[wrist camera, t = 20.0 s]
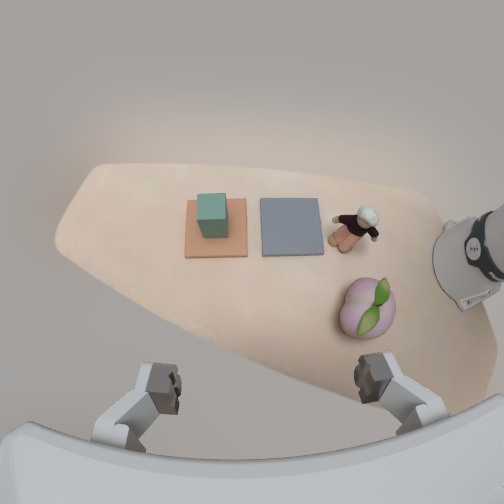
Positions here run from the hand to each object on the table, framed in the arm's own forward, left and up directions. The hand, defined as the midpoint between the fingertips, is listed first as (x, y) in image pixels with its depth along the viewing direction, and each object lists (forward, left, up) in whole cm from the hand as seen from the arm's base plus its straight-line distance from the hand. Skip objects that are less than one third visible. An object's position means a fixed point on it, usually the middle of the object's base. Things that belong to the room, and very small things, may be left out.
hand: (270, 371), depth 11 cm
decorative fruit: (-17, -4, -32) cm, 36 cm away
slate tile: (-7, -19, -31) cm, 38 cm away
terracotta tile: (+5, -19, -31) cm, 37 cm away
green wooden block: (+5, -19, -30) cm, 36 cm away
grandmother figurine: (-16, -16, -32) cm, 39 cm away
